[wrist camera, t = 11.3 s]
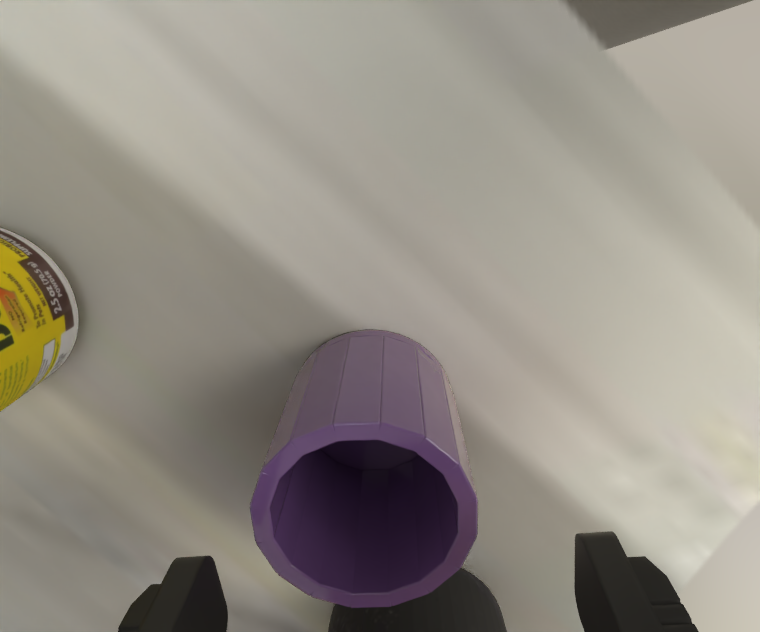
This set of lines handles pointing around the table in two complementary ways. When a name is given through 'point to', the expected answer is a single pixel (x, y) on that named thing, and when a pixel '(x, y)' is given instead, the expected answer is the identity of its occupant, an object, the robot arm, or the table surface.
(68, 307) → the supplement bottle
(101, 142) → the table surface
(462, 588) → the travel mug
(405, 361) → the cup
